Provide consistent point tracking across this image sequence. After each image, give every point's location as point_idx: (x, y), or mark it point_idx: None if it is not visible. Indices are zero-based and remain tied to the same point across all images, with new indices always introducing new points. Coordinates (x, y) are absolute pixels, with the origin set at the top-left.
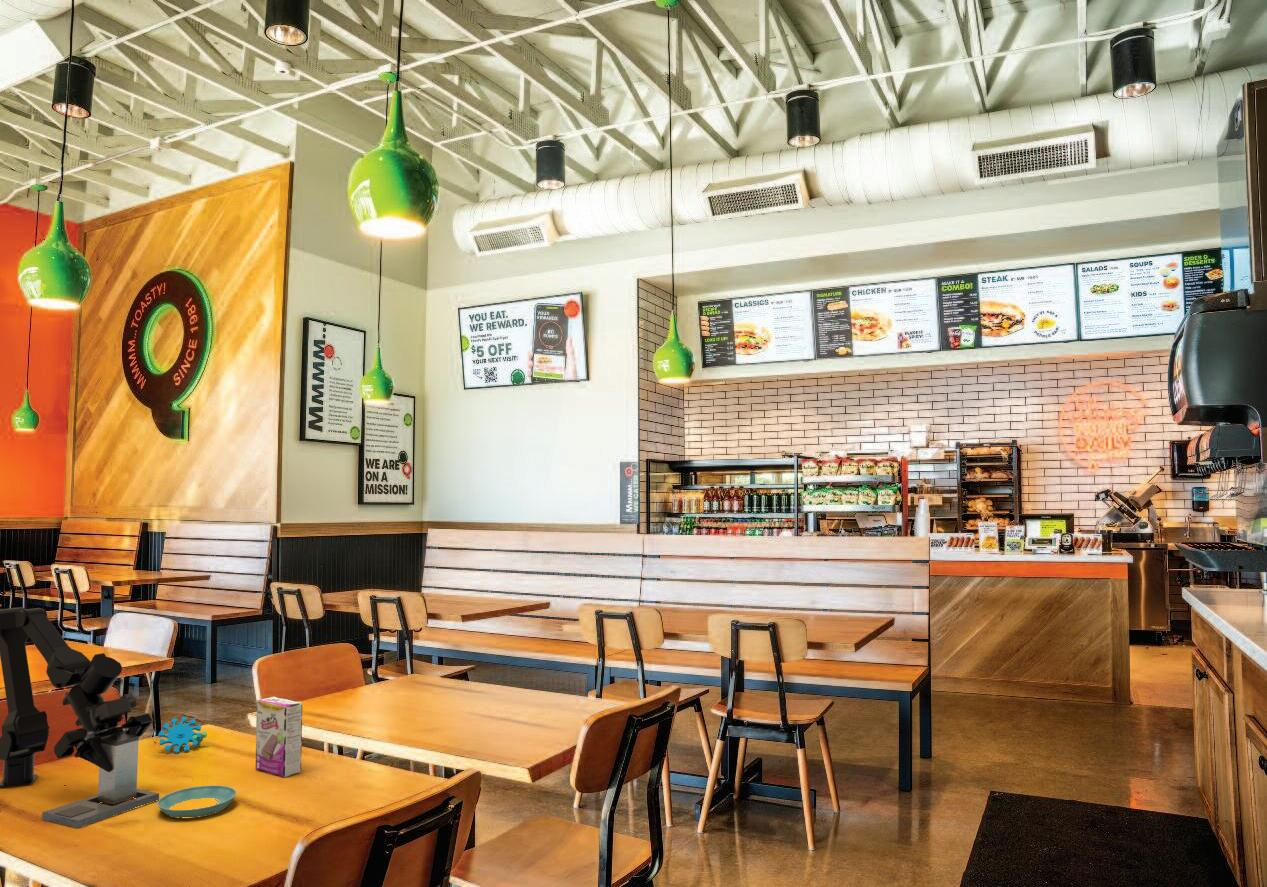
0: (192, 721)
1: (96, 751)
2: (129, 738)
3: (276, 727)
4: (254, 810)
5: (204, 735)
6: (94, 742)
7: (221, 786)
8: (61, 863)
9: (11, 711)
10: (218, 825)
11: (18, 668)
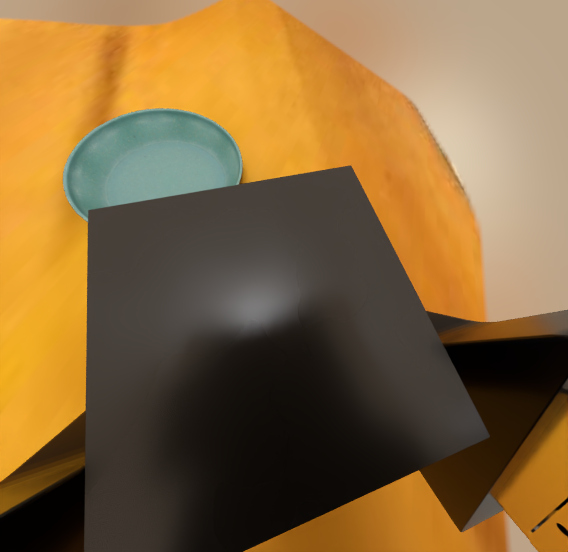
0: None
1: (437, 317)
2: (208, 193)
3: None
4: (117, 110)
5: None
6: (544, 316)
7: (67, 188)
8: (413, 133)
9: None
10: (199, 101)
11: None
